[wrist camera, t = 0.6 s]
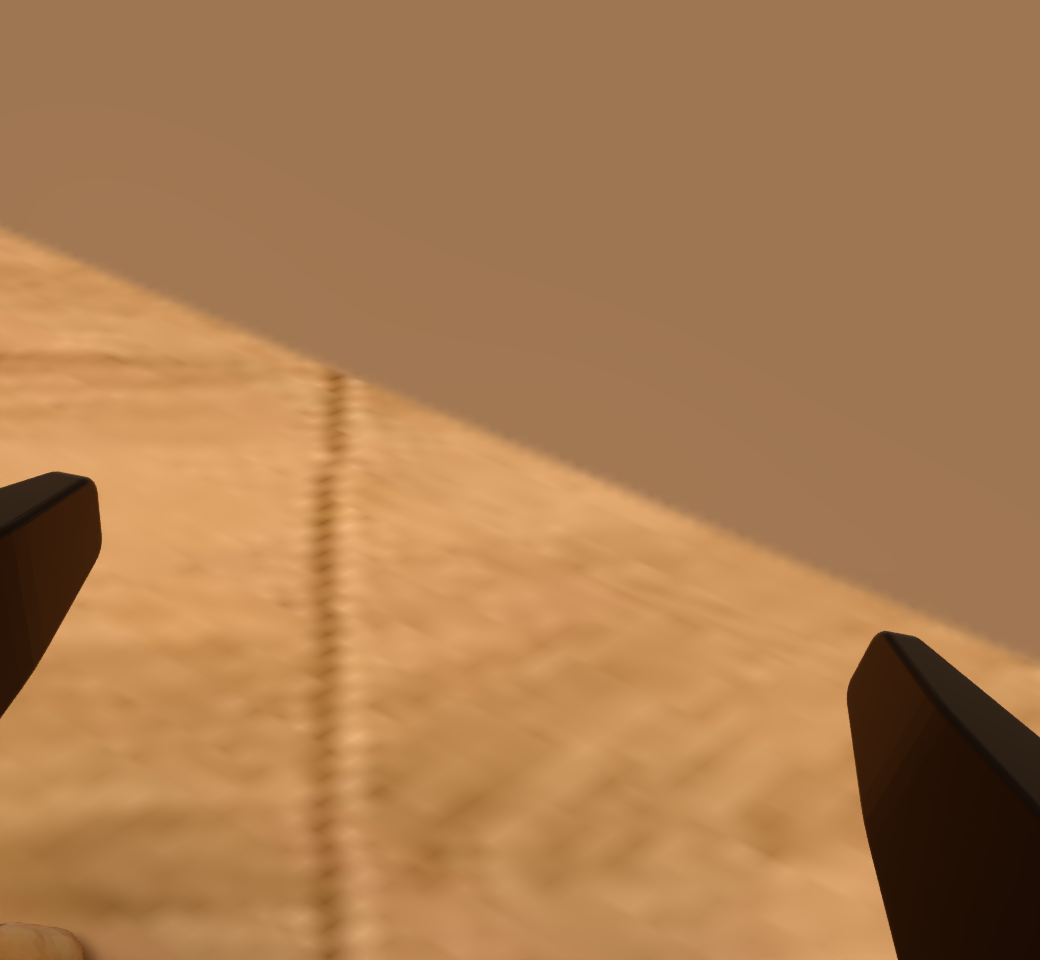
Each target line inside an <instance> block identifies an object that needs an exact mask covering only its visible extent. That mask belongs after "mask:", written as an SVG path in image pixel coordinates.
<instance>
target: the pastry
mask: <svg viewBox="0 0 1040 960" xmlns="http://www.w3.org/2000/svg"><path fill="white" fill-rule="evenodd" d="M0 960H84V954H83V948H82V946H81V944H80V943H79V941H78V940H77V939H76V937H75V936H74V935H73V934H72V933H71V932H69V931H68V930H64V929H60V928H55V927H45V926H40V925H34V924H24V923H19V922H14V923H6V924H2V925H0Z"/></svg>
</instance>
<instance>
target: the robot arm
mask: <svg viewBox="0 0 1040 960" xmlns="http://www.w3.org/2000/svg"><path fill="white" fill-rule="evenodd" d="M101 544H102V533H101V522H100V512H99V502H98V492H97V487H96V485H95V483H94V482H93V481H92V480H91V479H90V478H88V477H84V476H79V475H74V474H68V473H63V472H50V473H46V474H43V475H40V476H37V477H34V478H31V479H27V480H24V481H21V482H18V483H15V484H12V485H8V486H5V487H2V488H0V718H1V717H2V715H3V714H4V713H5V711H6V710H7V708H8V707H9V706H10V704H11V703H12V701H13V700H14V699H15V697H16V696H17V695H18V693H19V692H20V690H21V689H22V688H23V686H24V685H25V683H26V682H27V680H28V679H29V677H30V676H31V674H32V673H33V671H34V670H35V668H36V667H37V665H38V663H39V662H40V660H41V658H42V657H43V655H44V653H45V652H46V650H47V648H48V646H49V645H50V643H51V641H52V639H53V637H54V636H55V634H56V632H57V630H58V628H59V627H60V625H61V623H62V621H63V620H64V618H65V616H66V614H67V612H68V611H69V609H70V607H71V605H72V603H73V602H74V600H75V598H76V596H77V594H78V593H79V591H80V589H81V587H82V586H83V584H84V582H85V580H86V578H87V577H88V575H89V573H90V571H91V569H92V568H93V566H94V564H95V562H96V560H97V558H98V556H99V553H100V549H101ZM847 706H848V714H849V721H850V728H851V736H852V743H853V750H854V758H855V765H856V773H857V780H858V787H859V795H860V802H861V808H862V814H863V820H864V825H865V829H866V834H867V838H868V843H869V847H870V851H871V855H872V859H873V863H874V867H875V871H876V875H877V879H878V883H879V887H880V891H881V895H882V899H883V903H884V907H885V910H886V914H887V918H888V922H889V926H890V930H891V934H892V938H893V942H894V946H895V950H896V954H897V958H898V960H1040V737H1039V736H1038V735H1036V734H1035V733H1034V732H1033V731H1031V730H1030V729H1029V728H1028V727H1027V726H1025V725H1024V724H1023V723H1022V722H1020V721H1019V720H1018V719H1017V718H1016V717H1014V716H1013V715H1012V714H1011V713H1009V712H1008V711H1007V710H1006V709H1005V708H1003V707H1002V706H1001V705H1000V704H998V703H997V702H996V701H995V700H994V699H992V698H991V697H990V696H989V695H987V694H986V693H985V692H984V691H983V690H981V689H980V688H979V687H978V686H976V685H975V684H974V683H973V682H972V681H970V680H969V679H968V678H967V677H966V676H964V675H963V674H962V673H961V672H959V671H958V670H957V669H956V668H955V667H953V666H952V665H951V664H950V663H948V662H947V661H946V660H945V659H944V658H942V657H941V656H940V655H939V654H937V653H936V652H935V651H934V650H933V649H931V648H930V647H929V646H928V645H926V644H925V643H924V642H923V641H922V640H920V639H919V638H917V637H914V636H910V635H905V634H900V633H894V632H889V631H883V632H880V633H878V634H877V635H875V636H874V638H873V639H872V641H871V642H870V644H869V646H868V648H867V650H866V652H865V654H864V656H863V657H862V659H861V661H860V663H859V665H858V667H857V669H856V670H855V672H854V674H853V676H852V678H851V680H850V683H849V686H848V691H847Z"/></svg>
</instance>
